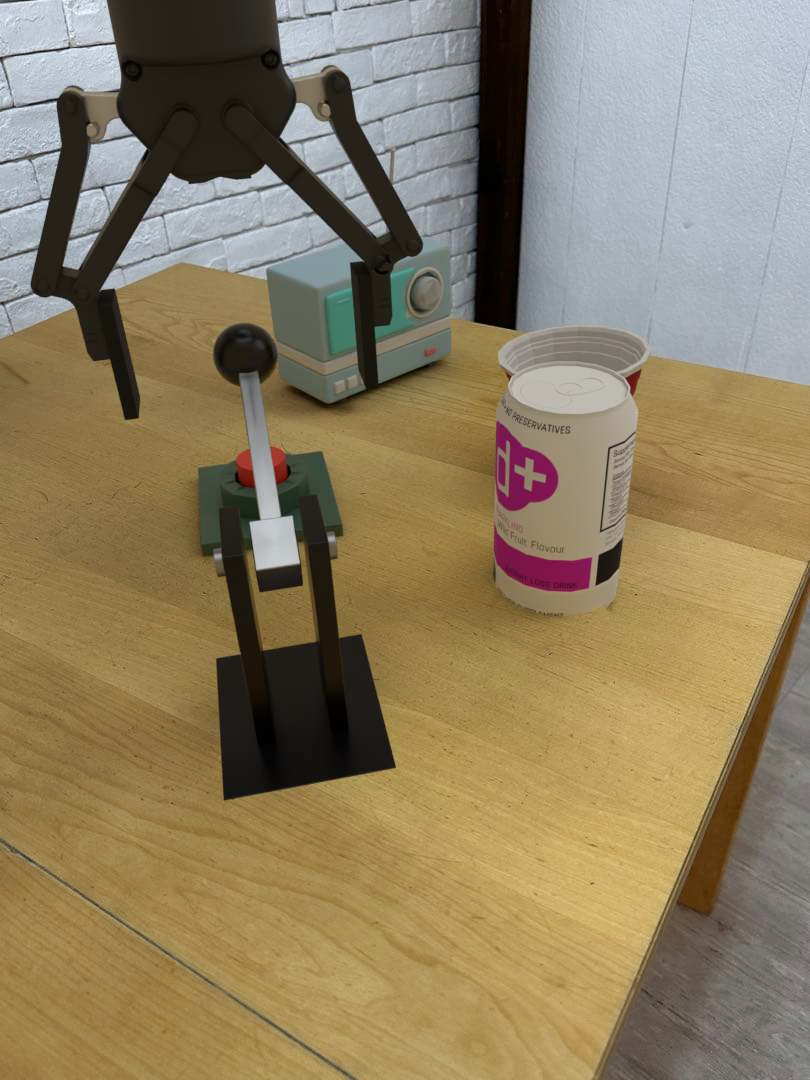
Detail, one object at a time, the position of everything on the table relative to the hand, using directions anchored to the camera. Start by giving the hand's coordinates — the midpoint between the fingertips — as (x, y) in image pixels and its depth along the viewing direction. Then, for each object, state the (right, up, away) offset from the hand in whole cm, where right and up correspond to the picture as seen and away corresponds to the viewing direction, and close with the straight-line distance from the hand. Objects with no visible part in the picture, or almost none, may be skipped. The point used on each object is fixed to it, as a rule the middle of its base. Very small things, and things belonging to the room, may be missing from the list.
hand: (252, 394), depth 52 cm
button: (-2, -4, +15) cm, 16 cm away
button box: (-2, -7, +17) cm, 19 cm away
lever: (+1, -4, -3) cm, 5 cm away
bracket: (+3, -19, -1) cm, 19 cm away
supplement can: (+19, -12, +9) cm, 24 cm away
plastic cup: (+21, -5, +19) cm, 29 cm away
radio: (+5, +8, +38) cm, 39 cm away
